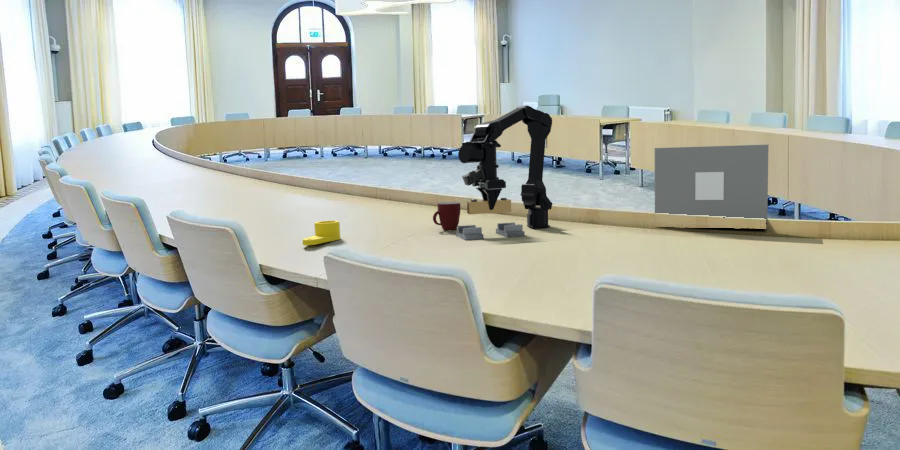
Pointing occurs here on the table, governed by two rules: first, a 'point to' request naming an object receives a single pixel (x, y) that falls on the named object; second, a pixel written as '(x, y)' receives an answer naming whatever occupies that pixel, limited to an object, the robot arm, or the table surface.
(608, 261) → the table surface
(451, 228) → the mug
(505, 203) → the link
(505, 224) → the pair of grey blocks
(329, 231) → the crank
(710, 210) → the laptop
